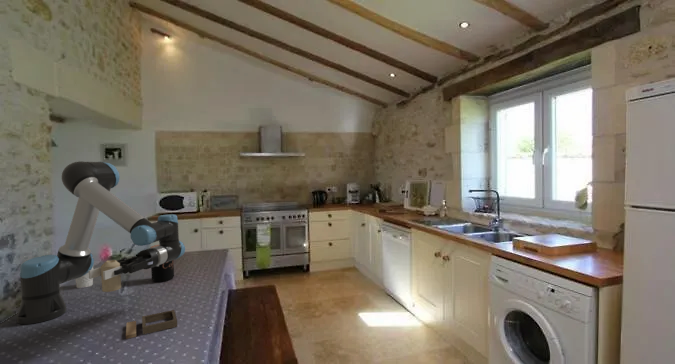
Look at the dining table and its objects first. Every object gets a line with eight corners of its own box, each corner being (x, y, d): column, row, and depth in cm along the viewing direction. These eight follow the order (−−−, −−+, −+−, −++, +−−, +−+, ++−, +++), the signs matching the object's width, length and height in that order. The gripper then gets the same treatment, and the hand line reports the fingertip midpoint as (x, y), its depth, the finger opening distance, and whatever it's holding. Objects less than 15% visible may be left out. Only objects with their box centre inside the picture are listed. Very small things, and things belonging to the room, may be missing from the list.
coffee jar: (165, 283, 176) (163, 248, 176) (147, 282, 178) (145, 248, 178) (178, 276, 187) (177, 244, 186) (161, 276, 189) (160, 243, 188)
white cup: (71, 287, 173) (70, 268, 173) (87, 282, 180) (86, 263, 180) (81, 289, 170) (80, 269, 170) (97, 284, 177) (96, 265, 177)
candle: (106, 293, 115) (105, 263, 115) (99, 290, 118) (97, 261, 118) (124, 288, 120) (122, 259, 119) (116, 285, 123) (115, 258, 122)
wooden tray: (142, 334, 120) (142, 327, 120) (142, 323, 129) (142, 316, 129) (177, 326, 125) (177, 319, 125) (174, 316, 135) (174, 309, 135)
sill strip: (126, 339, 117) (125, 335, 117) (126, 325, 127) (126, 322, 127) (136, 336, 118) (136, 333, 118) (136, 323, 129) (136, 320, 129)
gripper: (171, 267, 134) (119, 288, 111) (133, 265, 139) (76, 284, 116) (170, 248, 133) (118, 265, 111) (132, 247, 138) (74, 262, 116)
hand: (96, 275), depth 114 cm, fingers closed on candle, 5 cm apart
